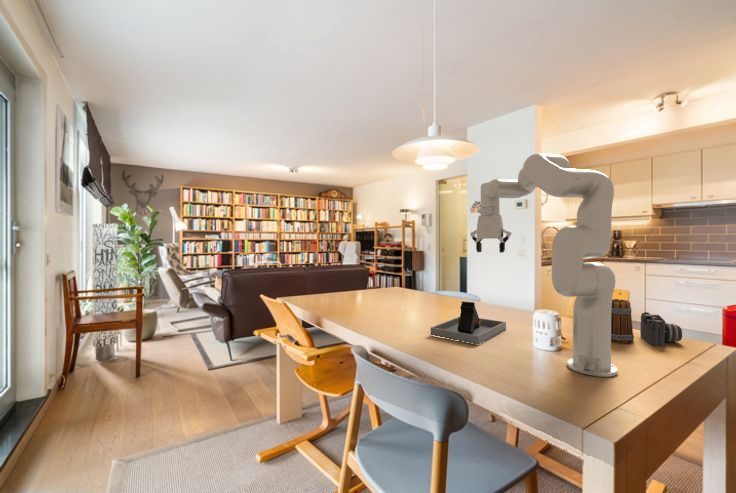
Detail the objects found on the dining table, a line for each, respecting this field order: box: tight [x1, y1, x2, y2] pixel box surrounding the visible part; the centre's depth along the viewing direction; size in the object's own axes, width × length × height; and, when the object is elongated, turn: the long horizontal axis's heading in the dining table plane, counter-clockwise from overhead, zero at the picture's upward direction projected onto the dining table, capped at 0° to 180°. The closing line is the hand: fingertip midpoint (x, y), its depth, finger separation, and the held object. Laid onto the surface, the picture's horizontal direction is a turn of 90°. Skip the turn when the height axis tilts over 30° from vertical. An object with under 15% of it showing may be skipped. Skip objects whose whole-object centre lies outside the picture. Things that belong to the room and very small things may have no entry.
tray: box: [430, 316, 507, 344], centre depth 142 cm, size 28×20×4 cm
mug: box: [611, 298, 635, 344], centre depth 131 cm, size 16×11×15 cm
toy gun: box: [457, 301, 480, 335], centre depth 142 cm, size 5×18×12 cm
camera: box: [639, 311, 683, 348], centre depth 127 cm, size 14×11×10 cm
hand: (490, 252), depth 145 cm, fingers open, 9 cm apart
